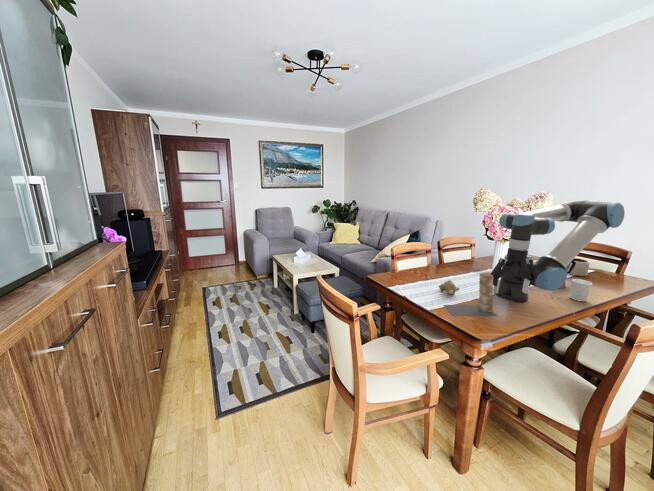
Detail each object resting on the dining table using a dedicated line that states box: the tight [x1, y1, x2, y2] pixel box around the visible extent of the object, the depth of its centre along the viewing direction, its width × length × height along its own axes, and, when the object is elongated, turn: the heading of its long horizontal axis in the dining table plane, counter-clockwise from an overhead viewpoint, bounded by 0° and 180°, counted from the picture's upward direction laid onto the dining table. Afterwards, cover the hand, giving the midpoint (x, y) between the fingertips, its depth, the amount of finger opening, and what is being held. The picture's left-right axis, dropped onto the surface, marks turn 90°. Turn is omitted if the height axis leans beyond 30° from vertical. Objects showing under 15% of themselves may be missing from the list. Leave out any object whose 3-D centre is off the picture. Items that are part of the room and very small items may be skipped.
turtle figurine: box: [438, 279, 460, 296], centre depth 149 cm, size 8×7×12 cm
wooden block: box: [478, 272, 494, 313], centre depth 129 cm, size 4×4×18 cm
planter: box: [567, 257, 591, 277], centre depth 182 cm, size 11×11×10 cm
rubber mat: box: [443, 304, 499, 317], centre depth 131 cm, size 21×11×1 cm, turn 89°
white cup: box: [568, 278, 593, 301], centre depth 143 cm, size 8×8×10 cm
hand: (509, 292), depth 128 cm, fingers open, 13 cm apart
